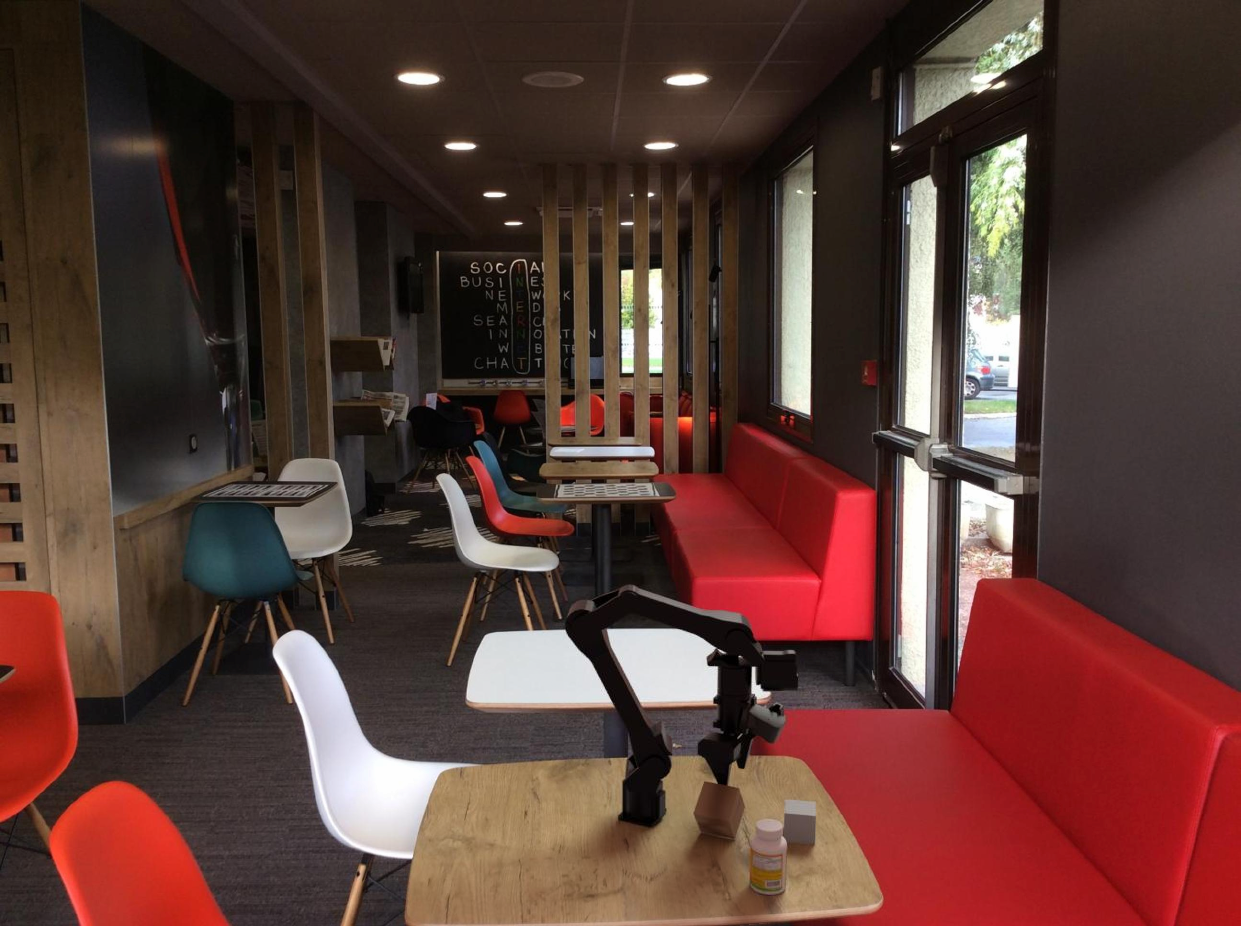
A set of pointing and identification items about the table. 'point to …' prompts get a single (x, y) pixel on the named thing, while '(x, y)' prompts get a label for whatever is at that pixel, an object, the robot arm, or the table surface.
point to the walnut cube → (719, 810)
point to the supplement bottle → (768, 858)
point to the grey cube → (800, 821)
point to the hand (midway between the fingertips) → (732, 778)
